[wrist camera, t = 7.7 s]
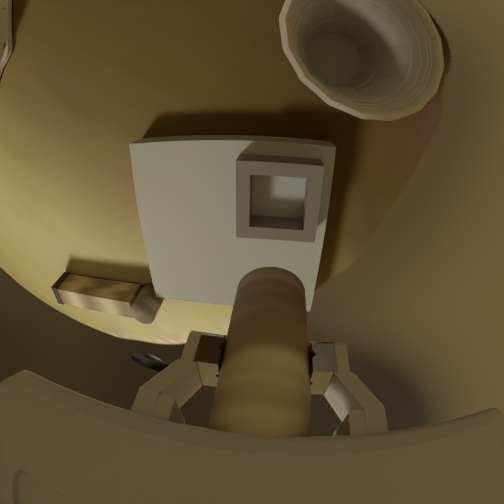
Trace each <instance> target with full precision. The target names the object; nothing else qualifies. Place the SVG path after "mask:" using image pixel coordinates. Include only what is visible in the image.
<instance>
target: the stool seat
mask: <svg viewBox="0 0 504 504" xmlns="http://www.w3.org/2000/svg"><path fill="white" fill-rule="evenodd" d="M129 145H130V155H131V164H132V172H133V179H134V187H135V193H136V200H137V206H138V212H139V218H140V224H141V229H142V235H143V240H144V245H145V250H146V255H147V259H148V264H149V269H150V273H151V277H152V282H153V286H154V290H155V294H156V297H159V298H167V299H175V300H183V301H192V302H201V303H211V304H220V305H231V306H234V301H235V297H236V292H237V287H238V284H239V282H240V280H241V279H242V278H243V277H244V276H245V275H246V274H247V273H249V272H250V271H252V270H255V269H258V268H262V267H279V268H283V269H286V270H288V271H290V272H292V273H293V274H295V275H296V276H297V277H298V278H299V279H300V280H301V282H302V283H303V285H304V288H305V297H306V311H310V309H311V304H312V300H313V295H314V290H315V285H316V279H317V274H318V269H319V263H320V258H321V252H322V246H323V240H324V234H325V228H326V222H327V215H328V208H329V201H330V194H331V186H332V179H333V171H334V162H335V153H336V147H335V145H334V144H333V143H332V142H331V141H323V140H313V139H302V138H289V137H274V136H251V135H190V136H167V137H152V138H142V139H139V140H137V141H135V142H133V143H131V144H129Z"/></svg>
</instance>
